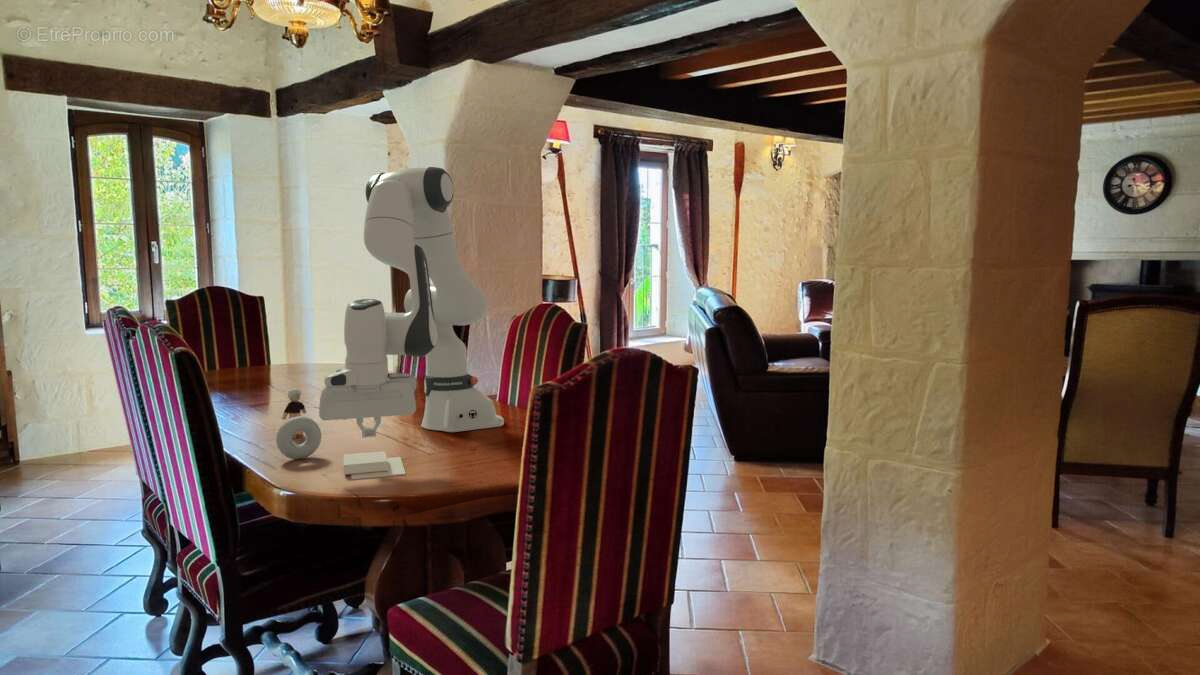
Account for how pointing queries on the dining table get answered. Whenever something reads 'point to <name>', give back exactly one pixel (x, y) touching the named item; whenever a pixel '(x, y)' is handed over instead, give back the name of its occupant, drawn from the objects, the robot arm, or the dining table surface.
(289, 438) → the donut
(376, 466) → the tile
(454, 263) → the robot arm
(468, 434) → the dining table surface
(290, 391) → the grandmother figurine
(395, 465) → the placemat
